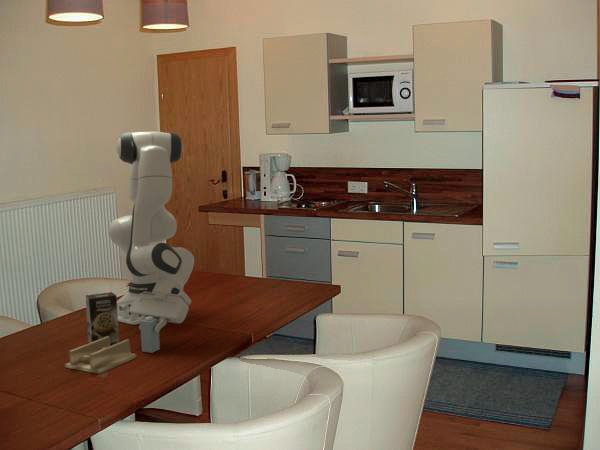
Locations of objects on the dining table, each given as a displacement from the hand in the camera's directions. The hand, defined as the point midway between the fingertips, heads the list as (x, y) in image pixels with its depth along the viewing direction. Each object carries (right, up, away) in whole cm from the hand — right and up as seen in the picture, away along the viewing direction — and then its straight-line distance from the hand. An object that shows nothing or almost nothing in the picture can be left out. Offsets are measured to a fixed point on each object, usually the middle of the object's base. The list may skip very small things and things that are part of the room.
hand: (148, 330), depth 237 cm
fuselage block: (0, -6, +2) cm, 7 cm away
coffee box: (-17, -6, +12) cm, 22 cm away
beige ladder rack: (-13, -8, -8) cm, 17 cm away
